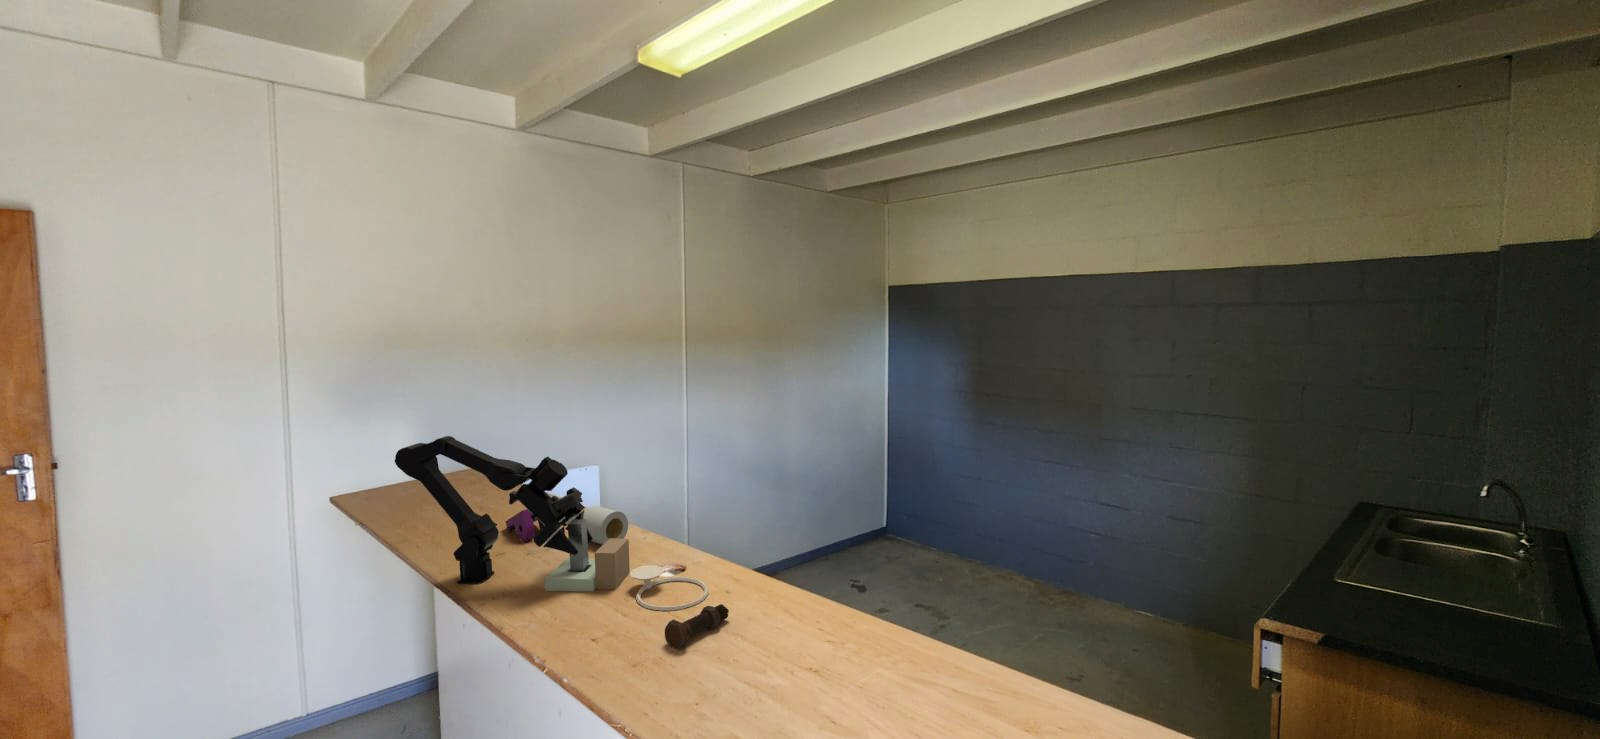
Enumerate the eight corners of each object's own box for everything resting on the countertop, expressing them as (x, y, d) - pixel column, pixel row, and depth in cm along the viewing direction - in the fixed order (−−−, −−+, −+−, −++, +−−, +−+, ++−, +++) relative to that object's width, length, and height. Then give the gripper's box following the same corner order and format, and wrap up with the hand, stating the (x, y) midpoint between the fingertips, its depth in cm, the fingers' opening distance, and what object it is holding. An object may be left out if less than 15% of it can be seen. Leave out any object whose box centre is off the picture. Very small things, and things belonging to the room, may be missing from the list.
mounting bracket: (507, 550, 199) (528, 538, 187) (501, 524, 201) (521, 510, 189) (537, 542, 206) (559, 530, 194) (531, 517, 208) (553, 503, 196)
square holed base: (545, 590, 156) (543, 554, 155) (568, 569, 169) (566, 535, 168) (613, 591, 155) (612, 555, 154) (631, 570, 168) (630, 536, 167)
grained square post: (571, 582, 161) (567, 524, 159) (576, 576, 164) (572, 519, 163) (584, 582, 161) (581, 523, 159) (589, 576, 164) (586, 519, 163)
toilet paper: (578, 544, 188) (577, 510, 187) (606, 534, 196) (605, 502, 195) (600, 551, 182) (599, 516, 181) (628, 540, 190) (627, 507, 189)
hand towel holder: (676, 600, 141) (608, 581, 151) (677, 619, 142) (609, 599, 152) (722, 572, 156) (657, 556, 166) (722, 589, 157) (658, 573, 167)
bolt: (726, 628, 141) (675, 655, 129) (712, 611, 143) (660, 637, 131) (737, 609, 139) (685, 635, 127) (722, 592, 141) (670, 617, 129)
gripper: (544, 491, 151) (592, 538, 151) (575, 471, 170) (618, 513, 170) (512, 524, 152) (560, 570, 153) (547, 500, 171) (590, 542, 171)
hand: (584, 546), depth 161 cm, fingers open, 9 cm apart
